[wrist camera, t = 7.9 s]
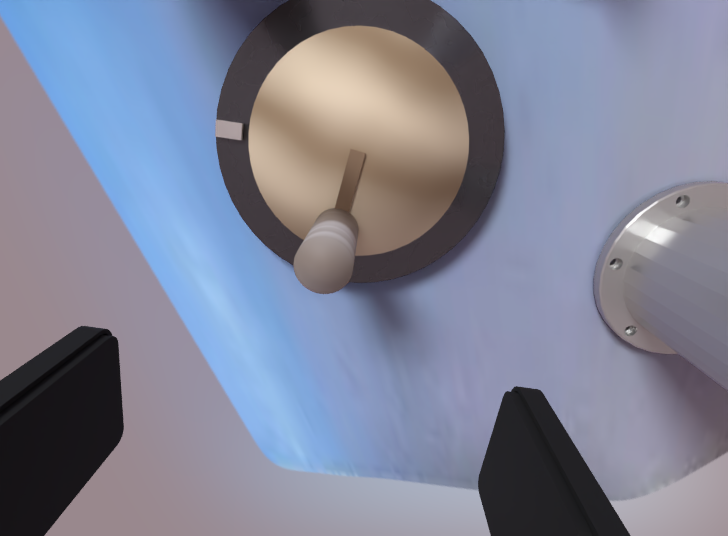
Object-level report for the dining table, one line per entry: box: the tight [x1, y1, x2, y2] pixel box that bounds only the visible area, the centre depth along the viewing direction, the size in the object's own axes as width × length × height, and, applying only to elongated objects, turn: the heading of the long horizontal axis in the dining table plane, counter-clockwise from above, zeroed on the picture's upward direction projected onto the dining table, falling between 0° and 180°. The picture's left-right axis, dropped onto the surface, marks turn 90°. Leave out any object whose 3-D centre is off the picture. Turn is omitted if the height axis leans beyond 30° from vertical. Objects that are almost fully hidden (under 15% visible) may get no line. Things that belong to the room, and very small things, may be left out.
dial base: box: [216, 0, 505, 283], centre depth 26 cm, size 18×18×2 cm
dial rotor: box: [249, 26, 469, 294], centre depth 22 cm, size 13×13×8 cm
